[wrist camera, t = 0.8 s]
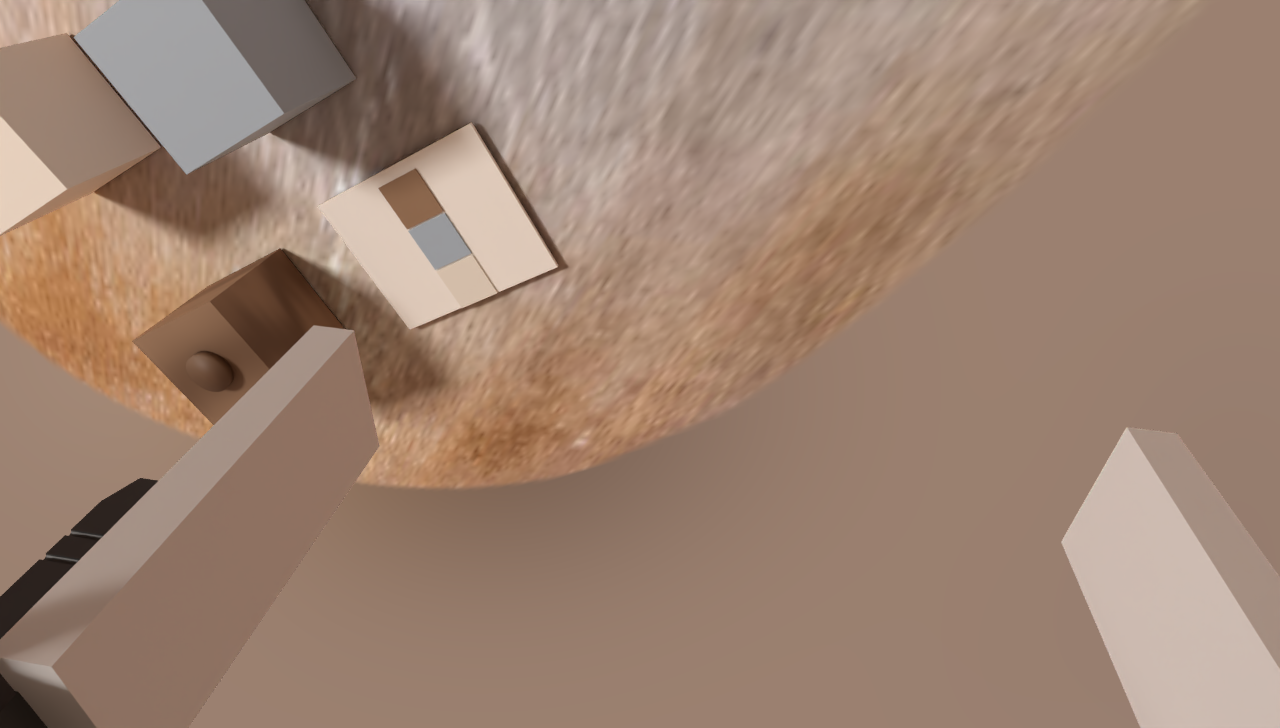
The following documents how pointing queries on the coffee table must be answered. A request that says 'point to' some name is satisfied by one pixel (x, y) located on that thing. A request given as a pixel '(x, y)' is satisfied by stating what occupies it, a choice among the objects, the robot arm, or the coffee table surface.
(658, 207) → the coffee table surface
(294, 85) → the slate brick
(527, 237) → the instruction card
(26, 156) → the cream brick
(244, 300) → the walnut base brick
